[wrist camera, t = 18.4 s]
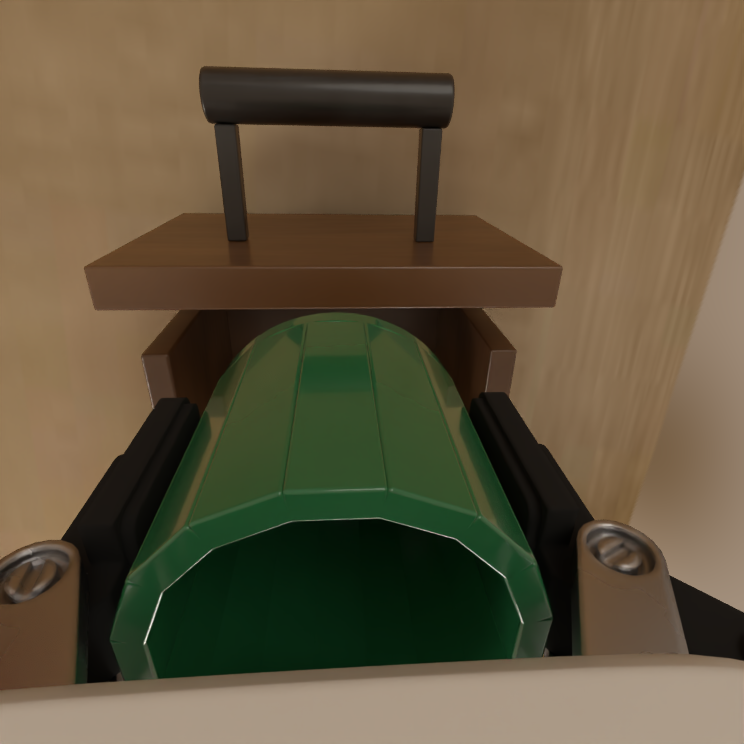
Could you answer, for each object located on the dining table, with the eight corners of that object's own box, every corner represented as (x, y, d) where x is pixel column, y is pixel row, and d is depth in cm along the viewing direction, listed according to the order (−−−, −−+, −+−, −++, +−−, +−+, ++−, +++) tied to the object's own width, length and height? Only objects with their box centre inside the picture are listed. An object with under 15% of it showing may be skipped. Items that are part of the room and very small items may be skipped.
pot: (229, 520, 13) (158, 779, 8) (195, 311, 11) (52, 499, 5) (446, 512, 14) (515, 754, 8) (470, 310, 11) (596, 482, 6)
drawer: (161, 82, 18) (23, 41, 10) (490, 90, 19) (606, 60, 11) (226, 499, 27) (182, 652, 19) (445, 491, 28) (489, 634, 20)
